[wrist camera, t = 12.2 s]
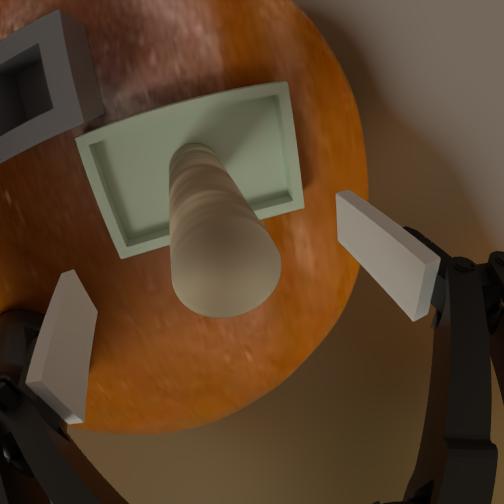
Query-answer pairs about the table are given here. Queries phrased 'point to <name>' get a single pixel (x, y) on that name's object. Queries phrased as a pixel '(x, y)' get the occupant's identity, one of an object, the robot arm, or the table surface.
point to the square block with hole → (45, 82)
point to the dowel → (216, 238)
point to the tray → (183, 132)
